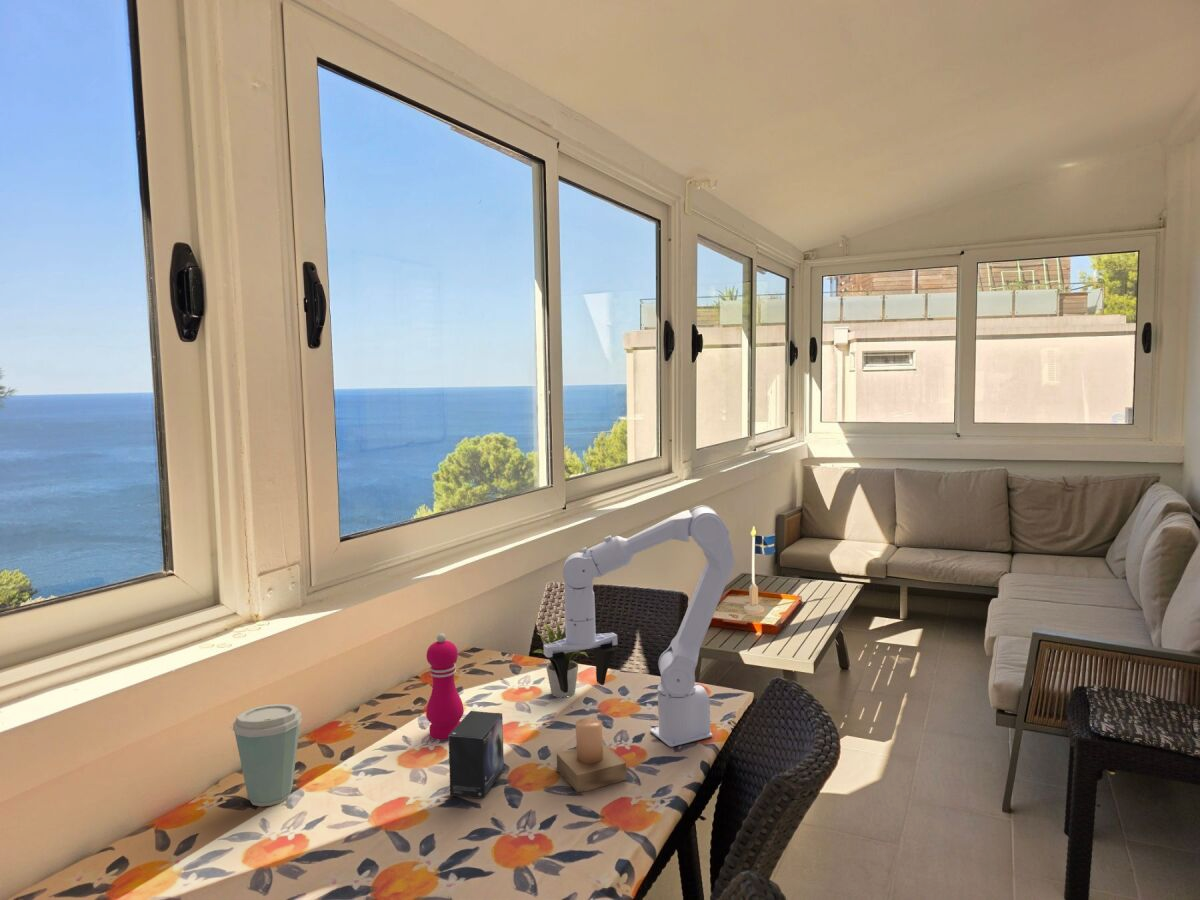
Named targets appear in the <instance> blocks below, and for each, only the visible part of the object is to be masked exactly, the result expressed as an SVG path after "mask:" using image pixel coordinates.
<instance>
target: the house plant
mask: <svg viewBox="0 0 1200 900" xmlns="http://www.w3.org/2000/svg"><path fill="white" fill-rule="evenodd" d="M543 625H544V627H545V630H546V632H547V637H548V639H547V638H546V637H545V636H543V634H541V633H539V632H536V631H535V633H536V634H537V635H538V636H540V638H541V640H543V641H544V642H545V644H550V643H553V642H556V641H559V640H562V639H565V638H566V629H565V631H564V633H562V630H561V628H560V625H559V623H558V620H555V625H556V630H557V631H553V630H552V628H551V627H550V626H549V625H548V623H545V622H543ZM562 634H563V635H562ZM533 653H538V654H543V655H544V649H540V648H538V649H536V650H533ZM576 654H578V655H576ZM580 654H582V655H585V656H586V657H588V654H587V652H585V651H583V650H579V651H574V652H569V653H564V655H565V656H566V659H568V660H569V664H568V674H567V678H568V692H566V693H564V692H563V691H561V690H560V685H559V681H558V678H557V675H556V672H555V670H554V668H553V665H552V663H551V662H549V663H547V664H546V667H545V669H546V672H547V677H548V684H549V687H550V688H549V689H550V692H551V695H552V694H553V695H554V696H556V697H555V698H558V697H566V698H568V697H567V696H570V695H573V694H574V693H576V687H577V680H578V671H579V663H577V662H576V661H574V660H575V659H577V657H578V656H579V655H580ZM574 655H576V656H575V657H574ZM573 657H574V658H573ZM572 658H573V659H572ZM553 695H552V696H553ZM574 695H575V694H574ZM574 695H573V696H574ZM554 696H553V697H554ZM570 697H571V696H570Z"/></svg>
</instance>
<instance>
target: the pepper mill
mask: <svg viewBox="0 0 1200 900" xmlns="http://www.w3.org/2000/svg"><path fill="white" fill-rule="evenodd" d="M436 640H437V641H434V642H433V643H432V644H430V645H429V647H428V648H427V650H426V661H427V662H428V664H429V665H430V667H429V670H430V671H429V674H430V675H429V676H431V678H432V689H431V693H430V696H429V699H428V701H427V705H426V709H425V710H426V711H425V712H426V714H425V716H426V719H427V721H428V722H429V723H431V724H429V728H428V729H429V736H430V738H432V739H434V740H436V739H439V740H438V741H445V739H448V740H449V738H448V735H449V734H450V733H451V732H452V731H453V730H454V729H455V728H456V726H457V725H458V724H459V723H460V722H461V721H462V720H461V719H462V717H463V715H464V711H465V710H464V703H463V702H462V701H463V700H462V698H461V696H460V695H459V692H458V690H457V687H456V684H455V674H456V673H457V669H456V667H457V665H456V661H457V659H458V657H459V651H458V648H457V646H456V644H455V643H453V642H451V641H450V640H447V637H446V634H444V633H439V634H437V636H436Z"/></svg>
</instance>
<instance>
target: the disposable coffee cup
mask: <svg viewBox="0 0 1200 900" xmlns="http://www.w3.org/2000/svg"><path fill="white" fill-rule="evenodd" d="M302 714H303V713H302V712H301V711H300V710H299V708H298V707H297V706H295V705H293V704H289V703H288V704H287V703H286V704H285V703H275V704H274V703H272V704H271V703H270V704H265V705H261V706H256V707H252V708H249V709H247V710H245V711H243V712H241V713H240V714H239V715H238V716H237V717H236V718H235V719H236V720H235V721H234V722H233V723H232V730H233V732H234V736H235V741H236V746H237V750H238V756H239V760H240V766H241V770H242V774H243V781H244V784H245V790H246V794H247V798H248V799H249V802H250V803H251V804H252V805H253V806H256V807H257V806H258V807H270V806H271V807H272V806H274V805H278V804H281V803H282V802H284V801H285V800H287V799H289V797H290V795H291V791H292V789H293V785H294V776H295V769H296V767H295V766H296V760H297V759H296V758H297V752H298V751H297V750H298V745H299V744H298V743H299V736H300V735H299V734H300V727H301V726H300V725H301V723H302V721H303V716H302Z"/></svg>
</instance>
